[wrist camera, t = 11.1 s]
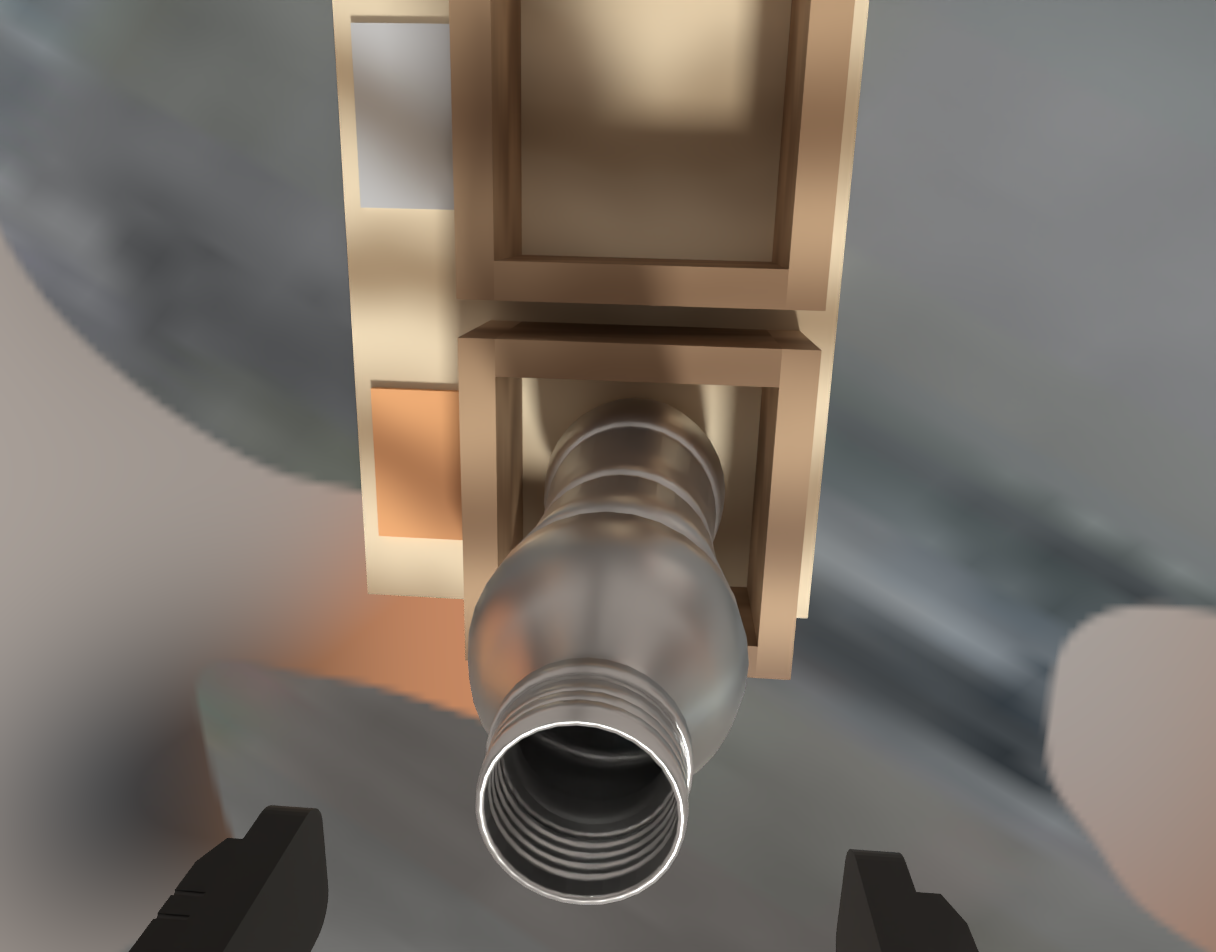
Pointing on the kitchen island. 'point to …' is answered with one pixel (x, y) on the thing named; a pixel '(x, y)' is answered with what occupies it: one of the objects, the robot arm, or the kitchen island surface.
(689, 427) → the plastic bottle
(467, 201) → the socket board
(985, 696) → the kitchen island surface
